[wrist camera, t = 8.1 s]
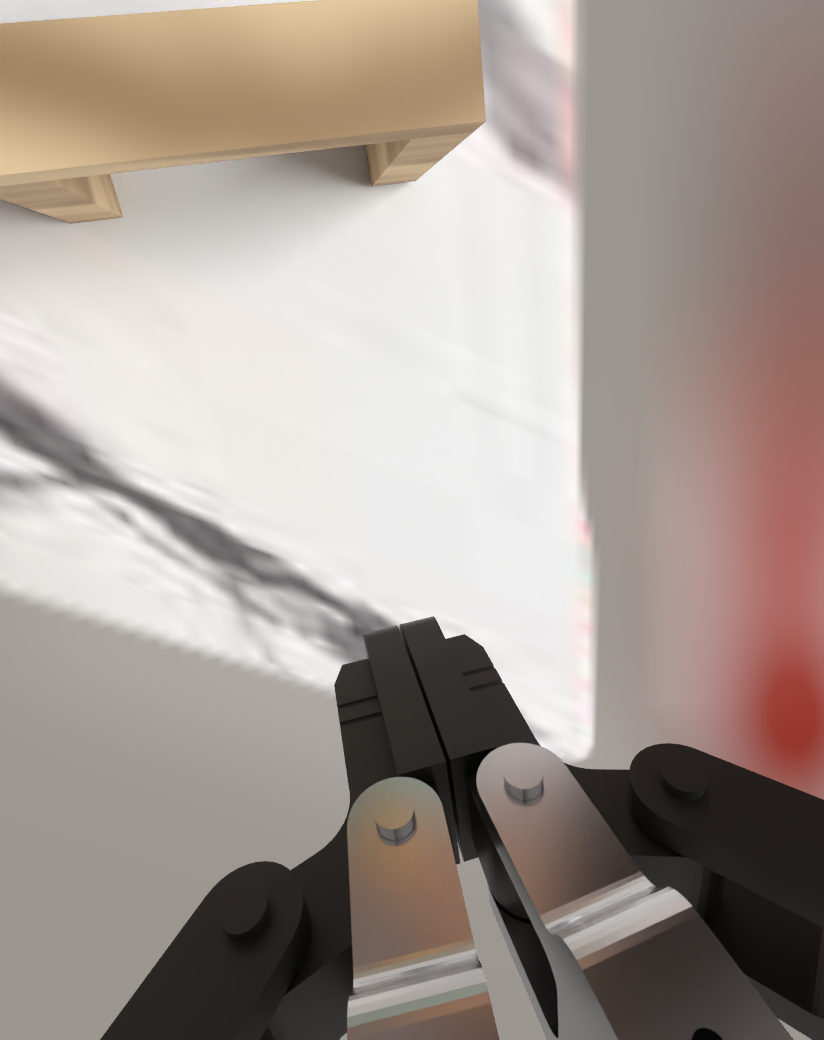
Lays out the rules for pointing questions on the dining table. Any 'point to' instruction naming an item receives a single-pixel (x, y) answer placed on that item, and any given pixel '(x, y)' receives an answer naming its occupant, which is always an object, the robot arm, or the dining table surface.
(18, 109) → the bridge
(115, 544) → the dining table surface
